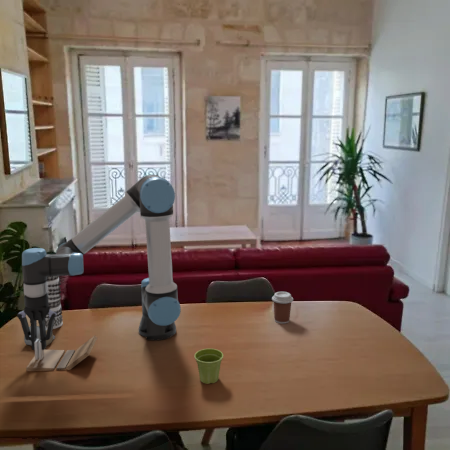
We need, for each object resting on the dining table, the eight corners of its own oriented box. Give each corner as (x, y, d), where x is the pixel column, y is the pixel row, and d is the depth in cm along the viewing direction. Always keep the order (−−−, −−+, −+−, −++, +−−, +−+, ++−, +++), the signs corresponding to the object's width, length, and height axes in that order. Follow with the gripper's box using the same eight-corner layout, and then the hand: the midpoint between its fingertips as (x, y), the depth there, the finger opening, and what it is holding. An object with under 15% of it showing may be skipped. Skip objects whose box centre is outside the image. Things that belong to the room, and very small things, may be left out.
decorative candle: (68, 323, 192) (64, 267, 187) (50, 331, 184) (45, 273, 179) (54, 318, 197) (50, 263, 192) (36, 326, 189) (31, 269, 184)
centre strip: (75, 353, 165) (74, 349, 165) (65, 372, 152) (64, 367, 152) (67, 353, 165) (67, 350, 164) (56, 372, 152) (56, 368, 152)
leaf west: (97, 337, 164) (94, 335, 164) (89, 355, 152) (86, 352, 151) (78, 352, 165) (76, 349, 165) (68, 370, 152) (65, 367, 152)
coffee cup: (267, 321, 194) (268, 295, 192) (276, 314, 202) (277, 289, 199) (287, 326, 189) (288, 299, 187) (295, 319, 197) (296, 293, 195)
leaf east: (64, 353, 165) (64, 350, 164) (53, 372, 152) (53, 368, 152) (39, 352, 164) (39, 349, 164) (26, 371, 151) (26, 367, 151)
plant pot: (213, 390, 142) (213, 365, 140) (189, 381, 147) (188, 357, 145) (228, 377, 150) (228, 353, 148) (205, 369, 155) (205, 346, 153)
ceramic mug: (42, 351, 167) (41, 332, 166) (24, 348, 169) (22, 329, 168) (60, 339, 177) (59, 321, 176) (42, 337, 179) (41, 319, 178)
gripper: (60, 290, 157) (62, 352, 162) (19, 289, 156) (23, 352, 161) (53, 297, 150) (56, 363, 154) (10, 297, 149) (15, 363, 153)
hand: (39, 357), depth 157 cm, fingers closed, pressing on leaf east
